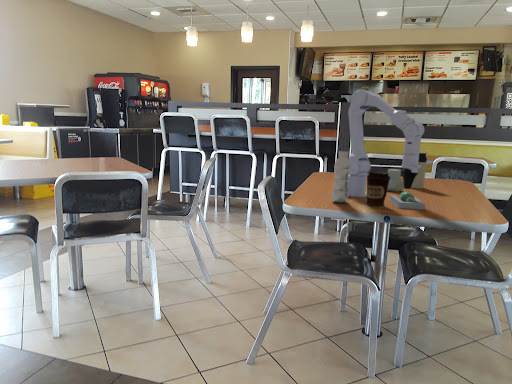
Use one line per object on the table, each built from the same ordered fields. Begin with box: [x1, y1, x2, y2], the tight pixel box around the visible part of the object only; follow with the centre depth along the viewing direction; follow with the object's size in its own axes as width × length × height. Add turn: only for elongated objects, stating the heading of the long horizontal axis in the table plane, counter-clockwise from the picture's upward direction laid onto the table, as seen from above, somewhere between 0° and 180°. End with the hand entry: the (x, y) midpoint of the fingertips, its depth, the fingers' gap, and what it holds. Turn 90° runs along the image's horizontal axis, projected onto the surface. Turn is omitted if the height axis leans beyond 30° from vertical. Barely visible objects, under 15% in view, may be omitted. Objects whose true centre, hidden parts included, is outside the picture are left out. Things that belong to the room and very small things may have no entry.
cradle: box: [389, 194, 426, 210], centre depth 155 cm, size 9×14×2 cm
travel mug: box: [411, 150, 428, 190], centre depth 197 cm, size 8×8×18 cm
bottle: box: [398, 191, 415, 202], centre depth 156 cm, size 4×4×9 cm
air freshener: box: [387, 168, 405, 193], centre depth 186 cm, size 11×8×10 cm
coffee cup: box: [366, 171, 390, 208], centre depth 150 cm, size 9×8×13 cm
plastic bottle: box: [331, 150, 351, 203], centre depth 154 cm, size 6×7×20 cm
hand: (407, 188), depth 156 cm, fingers closed
